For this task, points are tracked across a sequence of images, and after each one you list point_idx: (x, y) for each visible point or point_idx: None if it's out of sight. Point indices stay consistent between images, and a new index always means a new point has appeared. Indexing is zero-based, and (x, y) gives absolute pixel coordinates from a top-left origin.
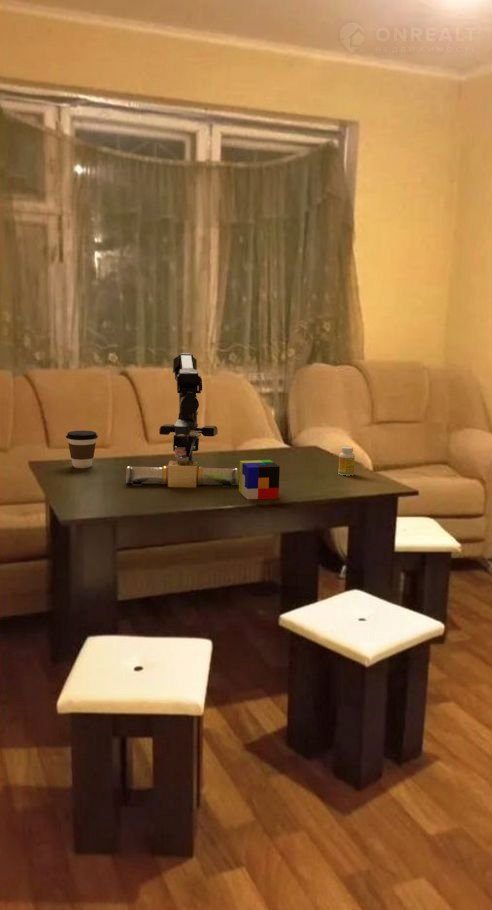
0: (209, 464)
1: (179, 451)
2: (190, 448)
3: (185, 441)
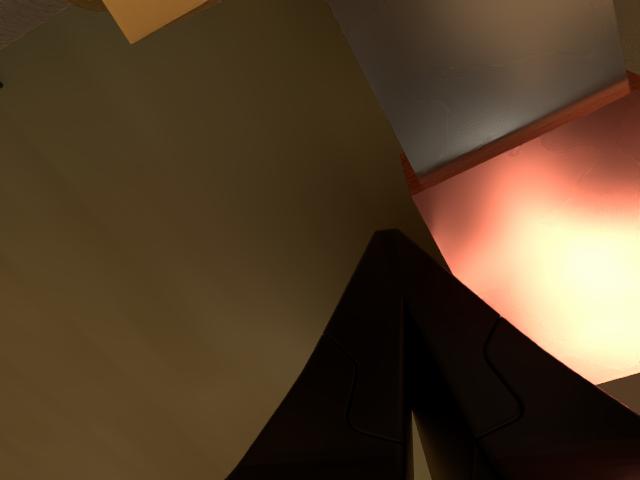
0: None
1: (583, 243)
2: (340, 304)
3: (517, 437)
